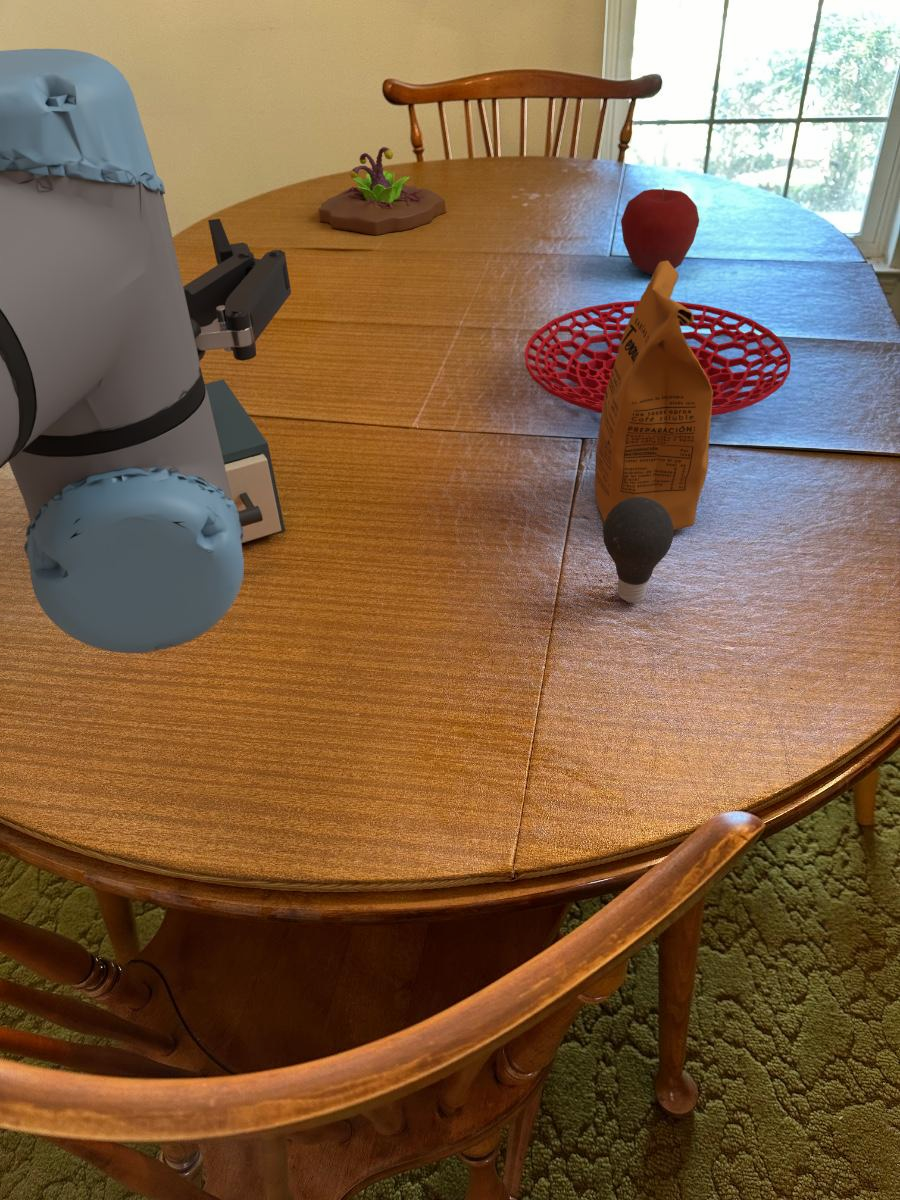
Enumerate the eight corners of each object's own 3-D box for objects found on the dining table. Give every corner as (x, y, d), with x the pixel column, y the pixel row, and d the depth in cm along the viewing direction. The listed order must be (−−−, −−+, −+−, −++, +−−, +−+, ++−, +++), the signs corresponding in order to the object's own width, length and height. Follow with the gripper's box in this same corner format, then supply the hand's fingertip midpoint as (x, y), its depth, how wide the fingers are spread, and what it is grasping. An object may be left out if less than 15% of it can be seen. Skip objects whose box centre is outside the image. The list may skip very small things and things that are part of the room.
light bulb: (607, 574, 83) (614, 478, 76) (670, 586, 81) (683, 489, 75) (590, 613, 79) (597, 515, 72) (657, 627, 77) (669, 528, 71)
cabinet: (285, 531, 90) (267, 442, 84) (154, 571, 86) (125, 481, 80) (242, 462, 101) (223, 378, 95) (123, 495, 97) (95, 410, 91)
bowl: (642, 489, 93) (646, 445, 90) (474, 383, 112) (473, 344, 109) (840, 401, 105) (850, 359, 101) (657, 319, 124) (660, 281, 121)
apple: (604, 267, 139) (608, 184, 132) (663, 253, 143) (671, 172, 135) (646, 290, 132) (653, 204, 124) (708, 275, 135) (719, 190, 127)
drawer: (296, 554, 86) (281, 481, 81) (171, 593, 82) (148, 519, 77) (241, 466, 98) (226, 398, 93) (131, 497, 95) (109, 428, 90)
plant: (380, 242, 153) (373, 169, 145) (303, 220, 163) (293, 151, 156) (463, 210, 163) (460, 140, 156) (385, 191, 174) (379, 125, 167)
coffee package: (691, 469, 95) (720, 253, 81) (702, 541, 86) (738, 309, 72) (593, 467, 96) (605, 254, 82) (593, 538, 87) (607, 310, 73)
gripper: (-122, 519, 44) (-71, 343, 60) (386, 422, 49) (310, 283, 65) (-200, 373, 39) (-122, 223, 55) (372, 282, 45) (294, 168, 60)
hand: (112, 255), depth 60 cm, fingers open, 13 cm apart
